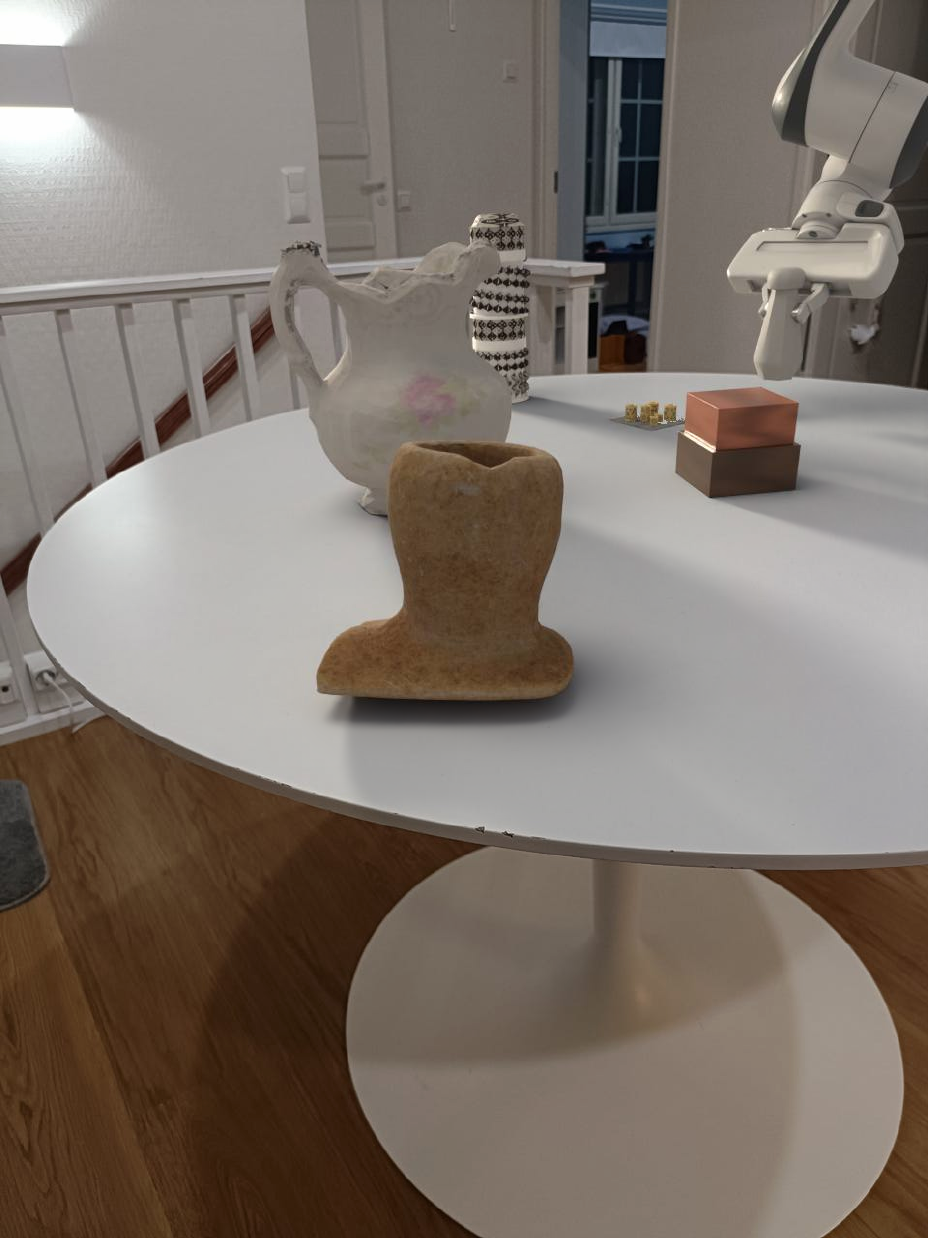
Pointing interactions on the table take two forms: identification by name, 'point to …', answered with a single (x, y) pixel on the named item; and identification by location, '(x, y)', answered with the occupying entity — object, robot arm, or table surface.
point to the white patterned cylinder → (503, 302)
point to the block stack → (738, 442)
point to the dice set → (649, 416)
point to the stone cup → (463, 580)
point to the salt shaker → (780, 327)
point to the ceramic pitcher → (395, 360)
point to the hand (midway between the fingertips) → (780, 318)
